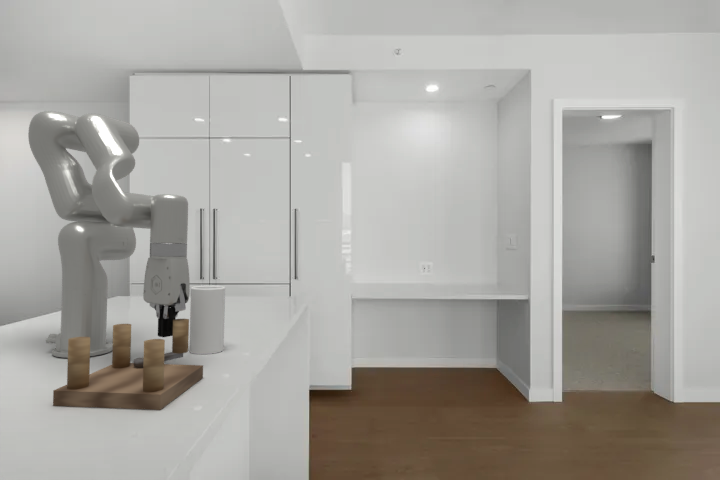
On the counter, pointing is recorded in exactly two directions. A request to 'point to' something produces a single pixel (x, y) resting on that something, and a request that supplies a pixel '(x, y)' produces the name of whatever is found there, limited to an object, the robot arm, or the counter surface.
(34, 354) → the counter surface
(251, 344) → the counter surface
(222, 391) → the counter surface
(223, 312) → the cup
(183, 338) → the hinged leg
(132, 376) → the stool seat
